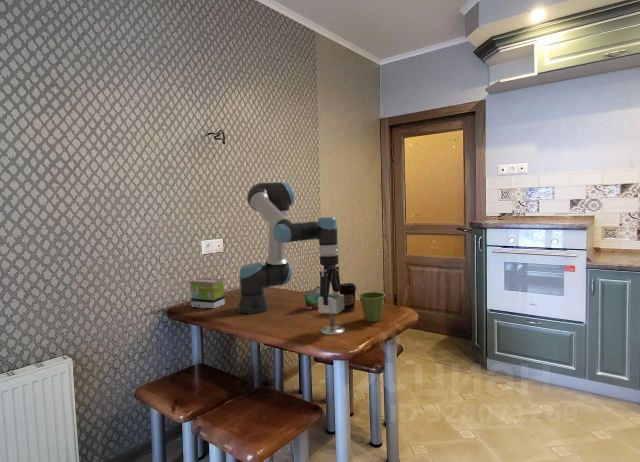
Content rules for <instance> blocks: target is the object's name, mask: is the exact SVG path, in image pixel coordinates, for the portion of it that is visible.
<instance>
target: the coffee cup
mask: <svg viewBox="0 0 640 462" xmlns="http://www.w3.org/2000/svg"><path fill="white" fill-rule="evenodd" d="M340 285H341V291H340V292H339V294H344V309H343V310H342V311H341V312H346V313H348V312H354V311H355V310H356V308H355V302H356V290H357V286H356V284H355V283H353V282H346V283H340Z"/></svg>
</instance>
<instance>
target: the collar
mask: <svg viewBox="0 0 640 462" xmlns="http://www.w3.org/2000/svg"><path fill="white" fill-rule="evenodd" d="M329 297H330V310H331V313H332V314H334V315H337V314H339V313H340V312H343V311H342V310H343V309H344V294H340V293H339V294H332V293H329ZM317 310H318V313H321V314H325V313H324V307H323V297H319V298H318V309H317Z"/></svg>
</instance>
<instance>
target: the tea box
mask: <svg viewBox="0 0 640 462" xmlns="http://www.w3.org/2000/svg"><path fill="white" fill-rule="evenodd" d="M189 283H190V284H189V287H190V288H189V289H190V303H191V308H192V307H197V309H205V308H216V307H218V308H220V307H219V306H221V305H223V306H225V305H224V304H226V302H225V288H224V287H225V285H224V283H225V282H224V279H223V278H213V277H212V278H211V277H200V278H198V279H194V280H191V281H189ZM221 307H222V306H221ZM216 309H217V308H216Z"/></svg>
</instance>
